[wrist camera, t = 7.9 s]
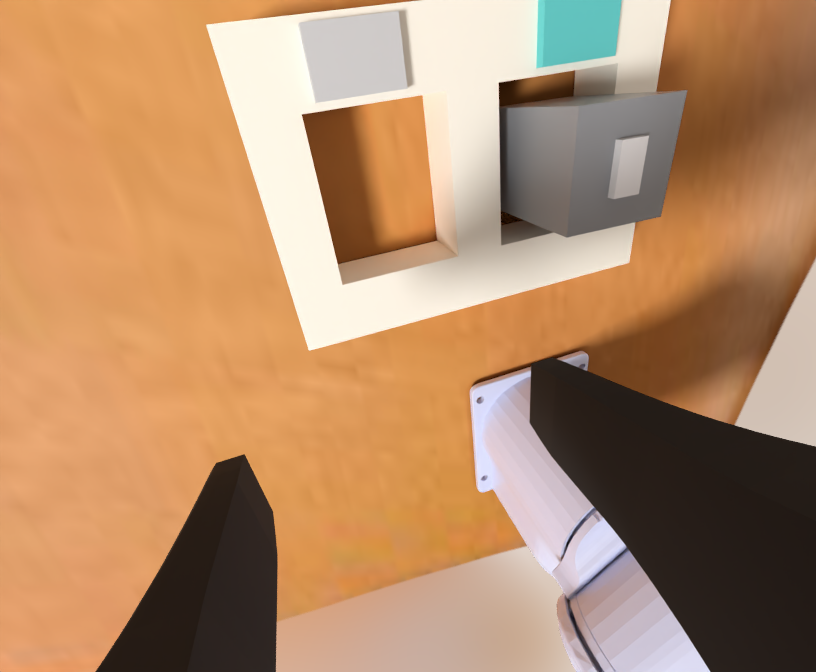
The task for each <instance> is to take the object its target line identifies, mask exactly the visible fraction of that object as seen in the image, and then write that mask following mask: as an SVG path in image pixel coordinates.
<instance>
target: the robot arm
mask: <svg viewBox="0 0 816 672" xmlns="http://www.w3.org/2000/svg"><path fill="white" fill-rule="evenodd" d="M588 360H589V356H588V354H587V353H585V352H584V351H579V352H576V353H572V354H569V355H566V356H563V357H560V358H557V359H555V358H553V357H551V358H548V359H545V360H542V361H539V362H536V363H532V364H531V367H528V368H525V369H522V370H519V371H516V372H512V373H509V374H506V375H503V376H500V377H497V378H494V379H490V380H487V381H484V382H481V383H478V384H475V385H474V386H473V387H472V388H471V390H470V403H471V417H472V431H473V445H474V459H475V473H476V486H477V489H478V490H479V491H480V492H486V491H489V490H491V489H493V490H494V492H495V493H496V495H497V497H498V498H499V500H500V502H501V503H502V505H503V506H504V508H505V510H506V511H507V513H508V515H509V516H510V518H511V520H512V521H513V523H514V525H515V526H516V528H517V529H518V531H519V533H520V534H521V536H522V538H523V539H524V541H525V543H526V544H527V546H528V547H529V549H530V551H531V552H532V554H533V556H534V557H535V559H536V560H537V561H538V563H539V564H540V565H541V566H542V567H543V569H545V570H546V571H547V572H548V573H549V574H550V575H552V576H553V577H554V578H555V579H556V581H557V582H558V584H559V586H560V587H561V589H562V590H563V592H564V593H563V594H562V595H561V596H560V598H559V599H558V602H557V616H558V620H559V630H560V634H561V638H562V641H563V644H564V647H565V650H566V652H567V654H568V656H569V659H570V661H571V663H572V665H573V667H574V669H575V671H576V672H816V447H815V446H811V445H807V444H803V443H798V442H794V441H789V440H786V439H782V438H778V437H774V436H770V435H766V434H762V433H759V432H755V431H752V430H748V429H745V428H741V427H738V426H735V425H731V424H728V423H724V422H721V421H718V420H714V419H711V418H708V417H705V416H702V415H699V414H696V413H693V412H690V411H688V410H685V409H682V408H679V407H676V406H674V405H671V404H668V403H665V402H662V401H660V400H657V399H654V398H652V397H649V396H647V395H644V394H642V393H639V392H636V391H634V390H631V389H629V388H627V387H624V386H622V385H619V384H617V383H614V382H612V381H609V380H607V379H605V378H602V377H600V376H598V375H595V374H593V373H590V372H588V371H587V369H588ZM479 397H480V399H478V398H479ZM477 399H478V400H477ZM276 622H277V546H276V535H275V526H274V517H273V511H272V509H271V507H270V505H269V503H268V501H267V499H266V497H265V495H264V493H263V491H262V489H261V487H260V485H259V483H258V481H257V479H256V477H255V475H254V473H253V471H252V469H251V467H250V465H249V463H248V460H247V458H246V456H245V454H244V455H241V456H238V457H234V458H231V459H228V460H225V461H222V462H218V463H216V464H215V466H214V468H213V469H212V471H211V473H210V475H209V477H208V479H207V481H206V483H205V485H204V487H203V489H202V491H201V493H200V495H199V497H198V499H197V501H196V503H195V505H194V507H193V509H192V511H191V512H190V514H189V516H188V518H187V520H186V522H185V524H184V526H183V528H182V530H181V531H180V533H179V535H178V537H177V539H176V541H175V542H174V544H173V546H172V548H171V550H170V552H169V553H168V555H167V557H166V559H165V561H164V563H163V564H162V566H161V568H160V570H159V571H158V573H157V575H156V576H155V578H154V580H153V581H152V583H151V585H150V587H149V588H148V590H147V592H146V593H145V595H144V597H143V598H142V600H141V602H140V603H139V605H138V607H137V608H136V610H135V612H134V613H133V615H132V617H131V618H130V620H129V621H128V623H127V625H126V626H125V628H124V629H123V631H122V632H121V634H120V636H119V637H118V639H117V640H116V642H115V643H114V645H113V646H112V648H111V649H110V651H109V653H108V654H107V656H106V657H105V659H104V660H103V662H102V663H101V665H100V666H99V667H98V669H97V670H96V672H276Z"/></svg>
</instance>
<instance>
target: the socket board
mask: <svg viewBox="0 0 816 672" xmlns="http://www.w3.org/2000/svg"><path fill="white" fill-rule="evenodd" d="M670 2H671V0H419V1H410V2H401V3H392V4H384V5H375V6H366V7H357V8H349V9H340V10H331V11H322V12H314V13H305V14H296V15H287V16H279V17H270V18H261V19H252V20H244V21H235V22H226V23H217V24H209V25H206V26H207V29H208V32H209V36H210V39H211V42H212V45H213V48H214V51H215V55H216V58H217V61H218V64H219V67H220V70H221V74H222V77H223V80H224V83H225V86H226V89H227V93H228V96H229V99H230V102H231V105H232V108H233V112H234V115H235V118H236V121H237V124H238V127H239V131H240V134H241V137H242V140H243V143H244V146H245V150H246V153H247V156H248V159H249V162H250V165H251V169H252V172H253V175H254V178H255V181H256V184H257V188H258V191H259V194H260V197H261V200H262V203H263V207H264V210H265V213H266V216H267V219H268V222H269V225H270V229H271V232H272V235H273V238H274V241H275V244H276V248H277V251H278V254H279V257H280V260H281V263H282V267H283V270H284V273H285V276H286V279H287V282H288V286H289V289H290V292H291V295H292V298H293V301H294V305H295V308H296V311H297V314H298V317H299V320H300V324H301V327H302V330H303V333H304V336H305V339H306V343H307V346H308V349H309V351H310V350H314V349H318V348H321V347H325V346H328V345H332V344H336V343H339V342H343V341H347V340H350V339H354V338H357V337H361V336H365V335H368V334H372V333H376V332H379V331H383V330H386V329H390V328H394V327H397V326H401V325H405V324H408V323H412V322H416V321H419V320H423V319H426V318H430V317H434V316H437V315H441V314H445V313H448V312H452V311H455V310H459V309H463V308H466V307H470V306H474V305H477V304H481V303H484V302H488V301H492V300H495V299H499V298H503V297H506V296H510V295H513V294H517V293H521V292H524V291H528V290H532V289H535V288H539V287H543V286H546V285H550V284H553V283H557V282H561V281H564V280H568V279H572V278H575V277H579V276H582V275H586V274H590V273H593V272H597V271H601V270H604V269H608V268H611V267H615V266H619V265H622V264H626V263H629V260H630V253H631V247H632V241H633V235H634V228H635V222H634V223H630V224H625V225H621V226H616V227H612V228H607V229H603V230H599V231H594V232H590V233H585V234H581V235H576V236H572V237H567V238H566V237H564V236H561V235H559V234H556V233H554V232H552V231H549V230H547V229H544V228H542V227H539V226H537V225H535V224H532V223H530V222H527V221H525V220H522V221H518V222H514V223H509V224H505V225H501V203H500V138H499V82H505V81H511V80H518V79H524V78H530V77H536V76H542V75H548V74H555V73H561V72H567V71H573V70H575V82H574V96H589V95H607V94H625V93H643V92H656V90H657V83H658V77H659V71H660V65H661V58H662V52H663V46H664V39H665V33H666V27H667V20H668V14H669V8H670ZM419 95H423V105H424V115H425V125H426V135H427V145H428V155H429V165H430V175H431V185H432V195H433V205H434V215H435V225H436V235H437V241H434V242H429V243H425V244H421V245H417V246H413V247H408V248H404V249H400V250H396V251H392V252H387V253H383V254H379V255H375V256H370V257H366V258H362V259H358V260H354V261H349V262H345V263H341V264H337V260H336V256H335V251H334V247H333V243H332V239H331V235H330V231H329V226H328V222H327V218H326V214H325V210H324V206H323V201H322V197H321V193H320V189H319V185H318V180H317V176H316V172H315V168H314V164H313V160H312V155H311V151H310V147H309V143H308V139H307V135H306V130H305V126H304V122H303V118H302V114H308V113H314V112H320V111H326V110H333V109H339V108H345V107H351V106H357V105H363V104H370V103H376V102H382V101H388V100H394V99H400V98H407V97H413V96H419Z"/></svg>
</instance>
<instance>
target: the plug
mask: <svg viewBox="0 0 816 672" xmlns="http://www.w3.org/2000/svg"><path fill="white" fill-rule="evenodd" d="M686 94H687V90H679V91H661V92H643V93H625V94H607V95H589V96H571V97H562V98H555V99H548V100H541V101H534V102H527V103H520V104H513V105H506V106H499V138H500V203H501V211H503V212H505V213H508V214H510V215H513V216H515V217H517V218H520V219H522V220H525V221H527V222H530V223H532V224H535V225H537V226H539V227H542V228H544V229H547V230H549V231H552V232H554V233H556V234H559V235H561V236H564V237H566V238H567V237H572V236H576V235H581V234H585V233H590V232H594V231H599V230H603V229H607V228H612V227H616V226H621V225H625V224H630V223H634V222H639V221H643V220H647V219H652V218H656V217H661V213H662V208H663V203H664V199H665V194H666V189H667V184H668V180H669V175H670V170H671V165H672V161H673V156H674V151H675V146H676V142H677V137H678V132H679V127H680V123H681V118H682V113H683V108H684V104H685V99H686Z"/></svg>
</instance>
